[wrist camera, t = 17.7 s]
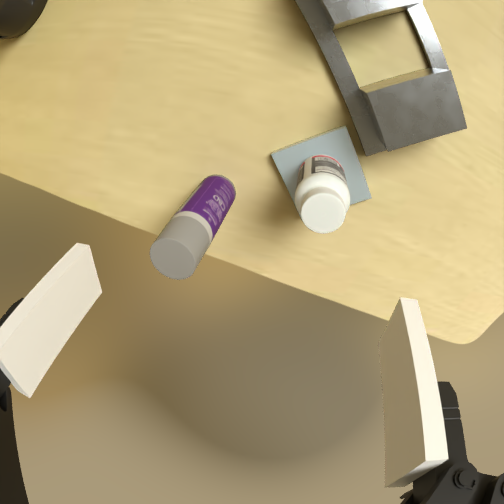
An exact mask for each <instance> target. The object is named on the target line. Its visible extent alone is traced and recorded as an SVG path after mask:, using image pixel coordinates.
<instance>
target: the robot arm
mask: <svg viewBox="0 0 504 504" xmlns="http://www.w3.org/2000/svg"><path fill="white" fill-rule="evenodd" d="M46 2H47V0H0V39H8V38H14V37H17V36H20V35H22V34H23V33H25V32H26V31H27V30H28V29H29V28H30V27H31V26H32V25H33V24H34V23H35V21H36V20H37V18H38V17H39V15H40V14H41V12H42V10H43V8H44V6H45V4H46ZM101 293H102V290H101V286H100V283H99V279H98V276H97V272H96V269H95V265H94V261H93V257H92V253H91V249H90V245H85V244H80V243H76V244H75V245H74V246H73V247H72V248H71V249H70V250H69V251H68V252H67V253H66V254H65V255H64V256H63V258H61V259H60V260H59V261H58V262H57V264H56V265H55V266H54V267H53V268H52V269H51V270H50V271H49V272H48V273H47V274H46V275H45V276H44V277H43V278H42V279H41V281H40V282H39V283H38V284H37V285H36V286H35V287H34V288H33V289H32V290H31V292H30V293H29V294H28V295H27V296H26V297H25V298H21V299H20V300H18V301H17V302H15V303H14V304H13V305H12V306H11V307H10V308H9V309H8V311H7V312H6V314H4V315H3V317H2V318H1V319H0V504H29V502H28V498H27V495H26V490H25V486H24V482H23V477H22V473H21V468H20V462H19V457H18V451H17V444H16V438H15V430H14V421H13V411H12V398H11V390H10V388H9V387H8V386H9V385H10V383H12V384H13V386H14V387H15V388H16V389H17V391H19V392H21V393H22V394H24V395H26V396H27V397H29V398H30V397H31V396H32V394H33V392H34V391H35V389H36V387H37V386H38V384H39V383H40V381H41V380H42V378H43V376H44V375H45V373H46V372H47V370H48V368H49V367H50V366H51V364H52V362H53V361H54V359H55V358H56V356H57V355H58V353H59V352H60V350H61V349H62V347H63V346H64V344H65V343H66V342H67V340H68V339H69V337H70V336H71V334H72V333H73V332H74V330H75V329H76V327H77V326H78V324H79V323H80V322H81V320H82V319H83V317H84V316H85V314H86V313H87V312H88V310H89V309H90V308H91V306H92V305H93V304H94V302H95V301H96V300H97V298H98V297H99V296H100V294H101ZM378 347H379V357H380V367H381V378H382V391H383V408H384V430H385V487H403V486H406V485H408V484H410V483H411V482H413V489H412V490H410V491H408V492H406V493H404V494H403V495H402V496H401V497H400V498H401V499H403V498H405V499H404V500H403V501H402V503H401V504H504V473H503V474H501V475H500V476H498V477H496V476H491V475H487V474H482V473H479V472H477V469H476V468H475V467H474V466H473V465H472V464H471V463H469V462H468V460H467V455H466V448H465V441H464V434H463V428H462V423H461V420H460V411H459V409H458V407H459V406H458V401H457V396H456V393H455V391H454V390H453V388H452V386H451V384H450V383H449V382H437V379H436V374H435V369H434V364H433V360H432V355H431V351H430V347H429V342H428V339H427V334H426V330H425V327H424V323H423V319H422V315H421V312H420V308H419V305H418V301H417V300H416V299H409V298H401V297H400V299H399V301H398V303H397V305H396V307H395V310H394V312H393V314H392V316H391V318H390V320H389V322H388V324H387V326H386V329H385V331H384V333H383V335H382V336H381V339H380V340H379V342H378Z"/></svg>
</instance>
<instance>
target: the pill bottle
mask: <svg viewBox="0 0 504 504" xmlns="http://www.w3.org/2000/svg"><path fill="white" fill-rule="evenodd" d="M295 205H296V208H297V211H298V212H299V214H300V215H301V218H302V221H303V223H304V224H305V225H306V226H307V227H308V228H309V229H310V230H312V231H314V232H317V233H330V232H333V231H335V230H337V229H338V228H339V227H340V226H341V225H342V223H343V222H344V219H345V215H346V213H347V211H348V209H349V206H350V192H349V188H348V185H347V180H346V176H345V173H344V170H343V167H342V165H341V164H340V163H339V162H338V161H337V160H336V159H335V158H333V157H331V156H329V155H325V154H317V155H313V156H310V157H309V158H307V159H306V160H305V161H304V162H303V163H302V164H301V166H300V168H299V172H298V177H297V185H296V191H295Z"/></svg>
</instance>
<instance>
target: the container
mask: <svg viewBox="0 0 504 504" xmlns="http://www.w3.org/2000/svg"><path fill="white" fill-rule="evenodd" d="M235 196H236V191H235V187H234V185H233V183H232V182H231V181H230V180H229V179H228V178H226V177H224V176H222V175H211V176H208V177H207V178H205V179H204V180H203V181H202V183H201V184H200V185H199V186H198V187H197V188H196V190H195V191H194V192H193V193H192V194H191V195H190V197H189V198H188V199H187V200H186V201H185V203H184V204H183V205H182V206H181V207H180V209H179V210H178V211H177V212H176V213H175V215H174V216H173V217H172V218H171V220H170V221H169V222H168V224H167V225H166V227H165V228H164V229H163V231H162V232H161V233H160V235H159V236H158V238H157V239H156V240H155V242H154V243H153V244H152V246H151V248H150V258H151V261H152V263H153V265H154V266H155V268H156V269H157V270H158V271H159V272H160V273H162V274H163V275H165V276H166V277H169V278H172V279H177V280H179V279H186V278H188V277H190V276H191V275H192V274H193V272H194V271H195V269H196V267H197V265H198V264H199V262H200V260H201V259H202V257H203V255H204V254H205V252H206V250H207V249H208V247H209V245H210V244H211V242H212V240H213V238H214V236H215V234H216V233H217V231H218V229H219V227H220V225H221V223H222V222H223V220H224V218H225V216H226V214H227V212H228V211H229V209H230V207H231V205H232V203H233V201H234V199H235Z"/></svg>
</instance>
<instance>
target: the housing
mask: <svg viewBox="0 0 504 504" xmlns="http://www.w3.org/2000/svg"><path fill="white" fill-rule="evenodd" d="M295 1H296V3H297V5H298V7H299V8H300V10H301V12H302V14H303V16H304V17H305V19H306V21H307V23H308V25H309V27H310V29H311V30H312V32H313V34H314V36H315V38H316V40H317V42H318V44H319V46H320V48H321V50H322V52H323V54H324V56H325V58H326V60H327V63H328V65H329V67H330V69H331V71H332V73H333V75H334V78H335V80H336V82H337V84H338V87H339V89H340V91H341V93H342V96H343V98H344V100H345V103H346V105H347V108H348V110H349V113H350V115H351V117H352V120H353V123H354V125H355V128H356V130H357V133H358V135H359V138H360V141H361V144H362V146H363V149H364V152H365V155H366V156H369V155H372V154H375V153H378V152H381V151H385V150H387V151H388V152H389V151H392V150H395V149H398V148H402V147H405V146H408V145H411V144H415V143H418V142H421V141H425V140H428V139H431V138H435V137H438V136H442V135H445V134H449V133H452V132H456V131H459V130H463V129H466V128H467V126H466V122H465V118H464V114H463V110H462V106H461V103H460V99H459V96H458V92H457V89H456V86H455V82H454V79H453V76H452V73H451V70H449V68H448V65H447V62H446V59H445V57H444V54H443V51H442V49H441V46H440V43H439V41H438V38H437V36H436V34H435V31H434V29H433V26H432V24H431V22H430V20H429V17H428V15H427V13H426V11H425V9H424V7H423V4H422V0H295ZM405 10H406V12H407V14H408V16H409V18H410V20H411V22H412V24H413V27H414V29H415V31H416V33H417V36H418V38H419V41H420V43H421V45H422V48H423V50H424V53H425V55H426V58H427V61H428V63H429V66H430V68H426V69H422V70H418V71H414V72H411V73H407V74H403V75H400V76H396V77H393V78H389V79H386V80H382V81H379V82H376V83H373V84H369V85H366V86H363V87H360V88H359V87H358V84H357V82H356V80H355V77H354V75H353V73H352V70H351V68H350V66H349V64H348V62H347V59H346V57H345V55H344V53H343V51H342V49H341V47H340V45H339V42H338V40H337V38H336V36H335V34H334V32H333V30H336V29H339V28H342V27H345V26H348V25H352V24H355V23H358V22H362V21H365V20H369V19H372V18H376V17H380V16H384V15H388V14H392V13H396V12H401V11H405Z"/></svg>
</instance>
